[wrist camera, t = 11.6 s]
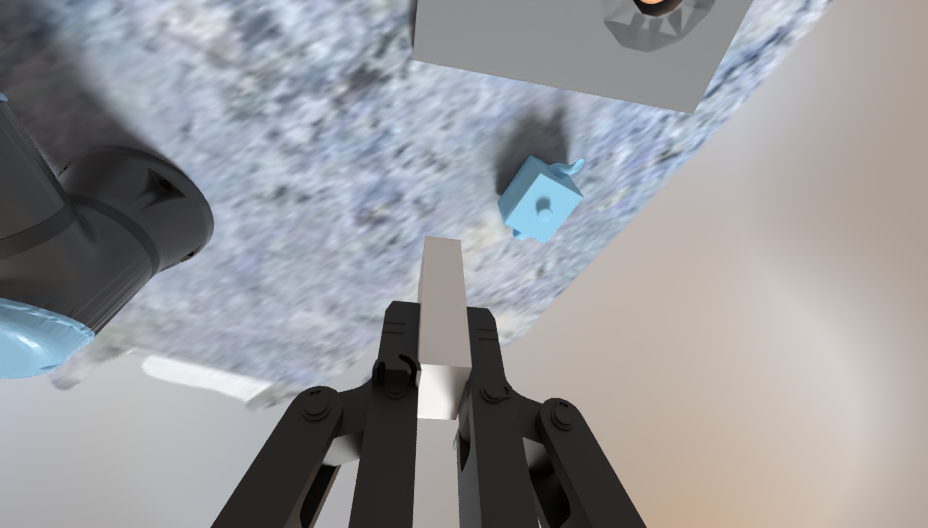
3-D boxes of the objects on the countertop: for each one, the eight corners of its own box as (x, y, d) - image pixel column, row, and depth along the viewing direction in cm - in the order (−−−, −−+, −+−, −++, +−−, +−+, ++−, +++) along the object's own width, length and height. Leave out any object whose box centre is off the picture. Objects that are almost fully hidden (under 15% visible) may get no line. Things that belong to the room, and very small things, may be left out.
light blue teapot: (545, 125, 42) (563, 148, 36) (585, 150, 44) (608, 175, 38) (490, 207, 48) (497, 238, 42) (527, 226, 50) (539, 258, 44)
